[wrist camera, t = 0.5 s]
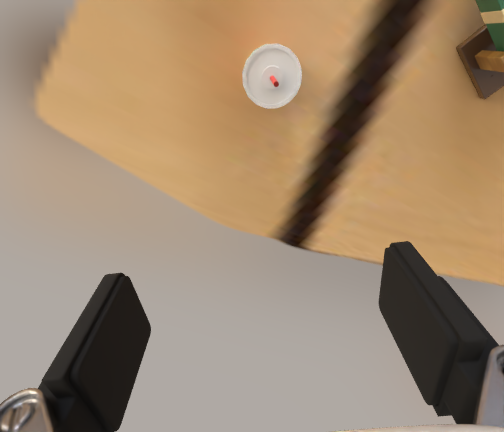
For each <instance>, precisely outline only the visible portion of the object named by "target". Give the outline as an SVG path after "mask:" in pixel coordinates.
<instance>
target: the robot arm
mask: <svg viewBox="0 0 504 432" xmlns="http://www.w3.org/2000/svg"><path fill="white" fill-rule="evenodd" d="M379 308H380V311H381V313H382V315H383V317H384V319H385V321H386V323H387V325H388V327H389V329H390V331H391V333H392V335H393V337H394V340H395V341H396V343H397V346H398V348H399V349H400V351H401V354H402V356H403V358H404V360H405V362H406V364H407V366H408V368H409V370H410V372H411V374H412V376H413V378H414V380H415V382H416V384H417V386H418V388H419V390H420V392H421V394H422V396H423V398H424V400H425V402H426V403H427V404H428V405H433V407H434V409H435V411H436V413H437V415H438V416H448V415H452V416H453V418H454V420H455V422H456V424H441V425H422V426H404V427H386V428H373V429H360V430H347V431H333V432H504V345H500V346H499V345H498V343H497V342H496V341H495V340H494V339H493V337H492V336H491V335H490V334H489V333H488V331H487V330H486V329H485V328H484V326H483V325H482V324H481V323H480V322H479V320H478V319H477V318H476V317H475V316H474V314H473V313H472V312H471V311H470V310H469V308H468V307H467V306H466V305H465V303H464V302H463V301H462V300H461V299H460V297H459V296H458V295H457V294H456V293H455V291H454V290H453V289H452V288H451V286H450V285H449V284H448V283H447V282H446V281H445V280H444V279H443V278H442V277H440V276H437V275H436V274H435V272H434V271H433V270H432V269H431V267H430V266H429V265H428V264H427V262H426V261H425V260H424V259H423V257H422V256H421V255H420V254H419V253H418V251H417V250H416V249H415V248H414V246H413V245H412V244H411V243H410V242H408V241H406V242H397V243H391V244H390V247H389V248H386V249H385V253H384V262H383V271H382V278H381V287H380V295H379ZM150 333H151V327H150V323H149V321H148V318H147V316H146V314H145V312H144V309H143V307H142V305H141V303H140V300H139V298H138V296H137V293H136V291H135V289H134V287H133V284H132V282H131V280H130V278H129V277H128V276H125V275H124V274H123V273H116V274H107V275H105V276H104V277H103V279H102V281H101V282H100V284H99V286H98V287H97V289H96V291H95V292H94V294H93V296H92V297H91V299H90V301H89V302H88V304H87V306H86V307H85V309H84V311H83V312H82V314H81V316H80V317H79V319H78V321H77V322H76V324H75V326H74V327H73V329H72V331H71V332H70V334H69V336H68V337H67V339H66V341H65V342H64V344H63V346H62V347H61V349H60V351H59V352H58V354H57V356H56V357H55V359H54V361H53V362H52V364H51V366H50V367H49V369H48V371H47V372H46V374H45V376H44V377H43V379H42V382H41V384H40V386H39V388H38V389H36V388H28V389H24V390H21V391H19V392H17V393H15V394H13V395H11V396H10V397H9V398H7V399H6V400H4V401H3V402H2V403H1V404H0V432H114V431H117V430H118V429H119V428H120V425H121V423H122V419H123V417H124V413H125V410H126V407H127V404H128V401H129V398H130V395H131V392H132V389H133V386H134V383H135V379H136V377H137V373H138V370H139V367H140V364H141V361H142V358H143V355H144V352H145V349H146V346H147V343H148V340H149V337H150Z"/></svg>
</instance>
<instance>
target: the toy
mask: <svg viewBox="0 0 504 432" xmlns="http://www.w3.org/2000/svg"><path fill="white" fill-rule="evenodd" d="M476 3H477V5H478V7H479V10H480V12H481V13H480V14H481V16H482V19H483V21H484V23H485V24H486V26H487V28H488V31H489V33H490V35H491V38H492V40H493V42H494V45H495V47H496V49H497V51H504V0H476Z"/></svg>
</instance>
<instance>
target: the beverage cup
mask: <svg viewBox="0 0 504 432" xmlns="http://www.w3.org/2000/svg"><path fill="white" fill-rule="evenodd" d="M242 75H243V86H244V89H245V91H246V93H247V96H248V97H249V98H250V99H251V100H252V101H253V102H254V103H255V104H256V105H259V106H261V107H264V108H266V109H269V108H279V107H281V106H283V105H285V104H288V103H289V102H290V101H291V100H292V99H293V98H294V96H295V95H296V94H297V92H298V89H299V87H300V85H301V77H302V69H301V66H300V63H299V60H298V58H297V57H296V55H295V54H294V53H293V52H292V51H291V50H290V49H289V48H287V47H285V46H282V45H280V44H265V45H263V46H261V47H259V48H257V49H255V50H254V51H253V52H252V54H251V55H250V56H249V57H248V59H247V60H246V63H245V66H244V69H243V72H242Z"/></svg>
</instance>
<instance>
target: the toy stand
mask: <svg viewBox="0 0 504 432" xmlns="http://www.w3.org/2000/svg"><path fill="white" fill-rule="evenodd" d="M456 49H457V51H458V53H459V55H460V57H461V59H462V61H463V63H464V65H465V67H466V69H467V71H468V73H469V76H470V78H471V80H472V82H473V84H474V86H475V88H476V90H477V92H478V94H479V96H480V98H483V99H486V98H487V97H489V96H490V95H491V94H493V93H494V92H496V91H497V90H498V89H500V88H501V87H503V86H504V51H497V49H496V47H495V45H494V42H493V40H492V38H491V35H490V33H489V31H488V28H487V26H486V24H485V25H484V26H483V27H482V28H480V29H479V30H478V31H477V32H475V33H474V34H473V35H472V36H470V37H469V38H468V39H467V40H465V41H464V42H463V43H462V44H460V45H459V46H458V47H457V48H456Z"/></svg>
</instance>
